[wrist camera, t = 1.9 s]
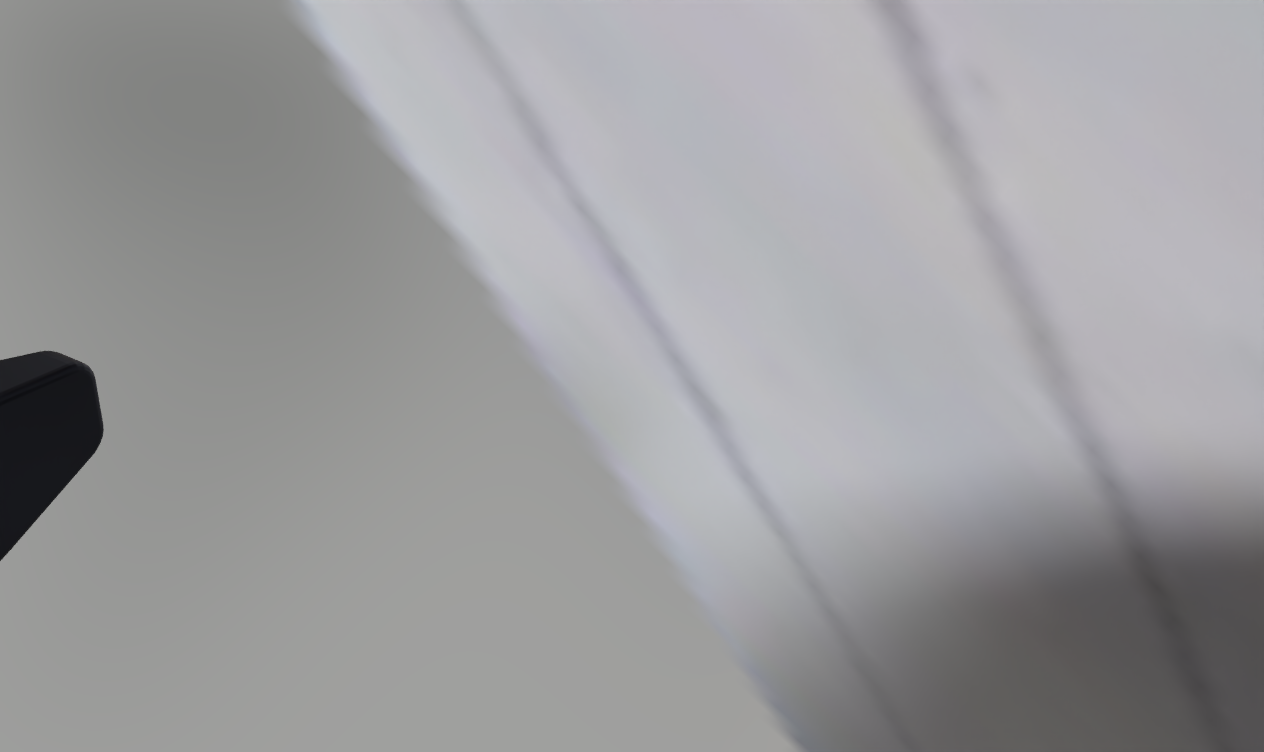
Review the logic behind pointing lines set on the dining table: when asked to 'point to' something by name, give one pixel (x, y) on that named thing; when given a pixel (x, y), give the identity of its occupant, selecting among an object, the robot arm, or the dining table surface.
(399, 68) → the dining table surface
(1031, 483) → the dining table surface
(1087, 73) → the dining table surface
